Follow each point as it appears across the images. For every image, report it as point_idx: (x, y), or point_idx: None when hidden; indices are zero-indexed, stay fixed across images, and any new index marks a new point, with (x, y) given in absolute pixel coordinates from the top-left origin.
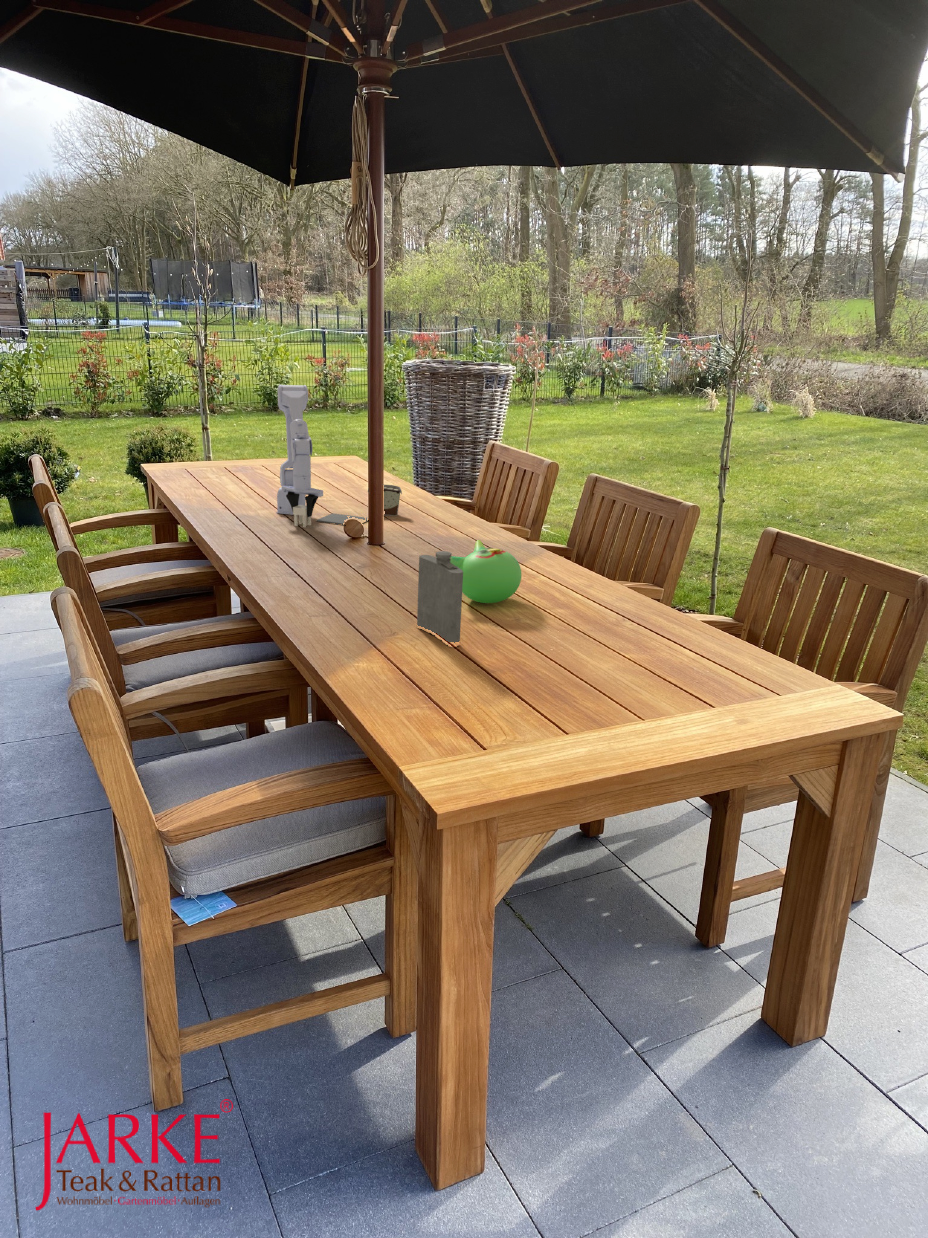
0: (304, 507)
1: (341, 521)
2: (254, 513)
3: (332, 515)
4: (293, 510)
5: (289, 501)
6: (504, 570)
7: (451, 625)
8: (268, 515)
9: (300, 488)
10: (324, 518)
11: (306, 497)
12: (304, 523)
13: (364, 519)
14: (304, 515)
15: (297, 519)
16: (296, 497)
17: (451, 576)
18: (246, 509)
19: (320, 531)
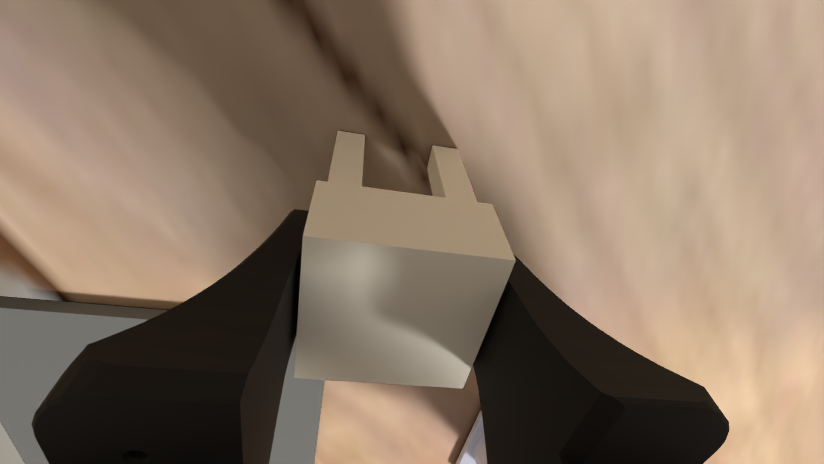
0: (352, 298)
1: None
2: (785, 365)
3: (285, 442)
4: (496, 229)
5: (602, 335)
6: None
7: None
8: (695, 354)
9: None
10: (295, 380)
11: (191, 385)
12: (343, 148)
13: (32, 434)
14: (330, 184)
15: (435, 192)
16: (515, 451)
17: None
18: (819, 413)
19: (94, 10)
